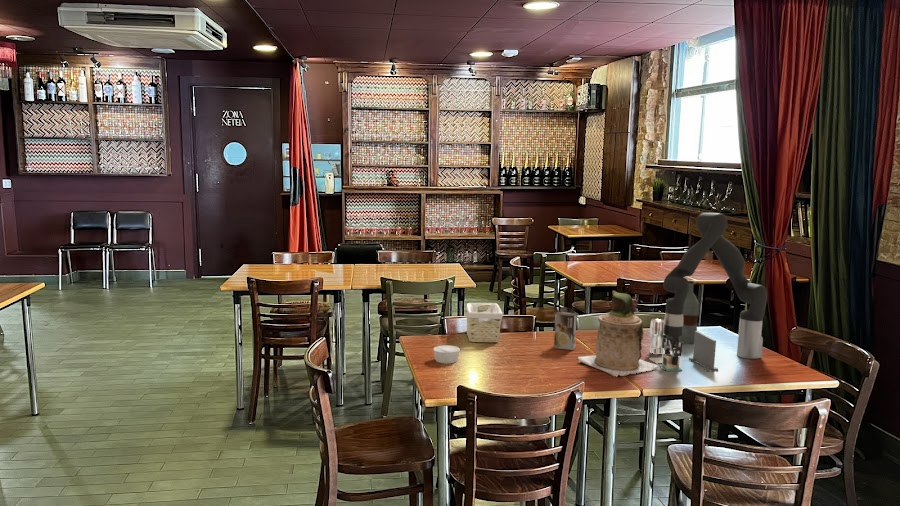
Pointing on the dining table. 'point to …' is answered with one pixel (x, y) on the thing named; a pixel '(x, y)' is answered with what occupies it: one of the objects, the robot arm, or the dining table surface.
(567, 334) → the coffee box
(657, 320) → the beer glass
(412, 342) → the dining table surface
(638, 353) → the cookie jar
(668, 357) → the beige cube
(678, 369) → the pad
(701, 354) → the screen
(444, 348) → the ramekin
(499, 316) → the storage basket
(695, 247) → the robot arm
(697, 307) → the bottle
